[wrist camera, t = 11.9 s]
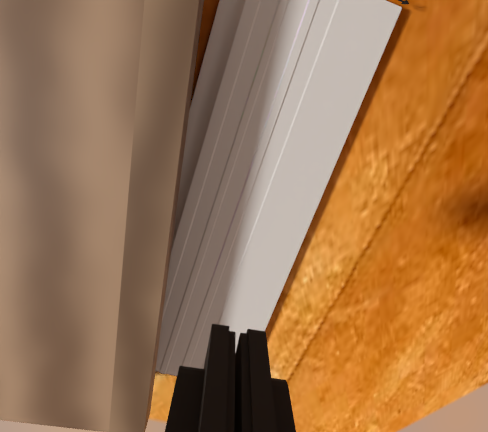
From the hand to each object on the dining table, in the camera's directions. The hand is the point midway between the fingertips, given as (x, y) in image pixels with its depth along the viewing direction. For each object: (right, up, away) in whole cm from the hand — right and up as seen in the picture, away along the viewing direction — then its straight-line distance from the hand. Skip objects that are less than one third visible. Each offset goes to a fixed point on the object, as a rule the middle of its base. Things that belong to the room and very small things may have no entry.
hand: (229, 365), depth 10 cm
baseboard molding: (-1, +6, +15) cm, 16 cm away
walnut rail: (-9, +6, +14) cm, 18 cm away
